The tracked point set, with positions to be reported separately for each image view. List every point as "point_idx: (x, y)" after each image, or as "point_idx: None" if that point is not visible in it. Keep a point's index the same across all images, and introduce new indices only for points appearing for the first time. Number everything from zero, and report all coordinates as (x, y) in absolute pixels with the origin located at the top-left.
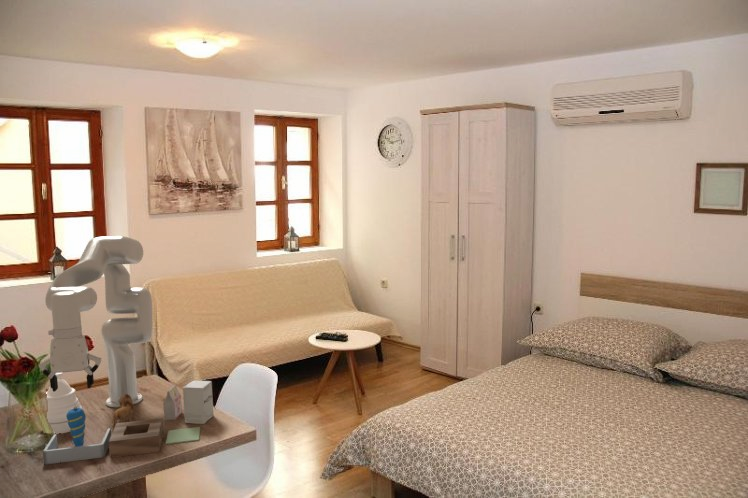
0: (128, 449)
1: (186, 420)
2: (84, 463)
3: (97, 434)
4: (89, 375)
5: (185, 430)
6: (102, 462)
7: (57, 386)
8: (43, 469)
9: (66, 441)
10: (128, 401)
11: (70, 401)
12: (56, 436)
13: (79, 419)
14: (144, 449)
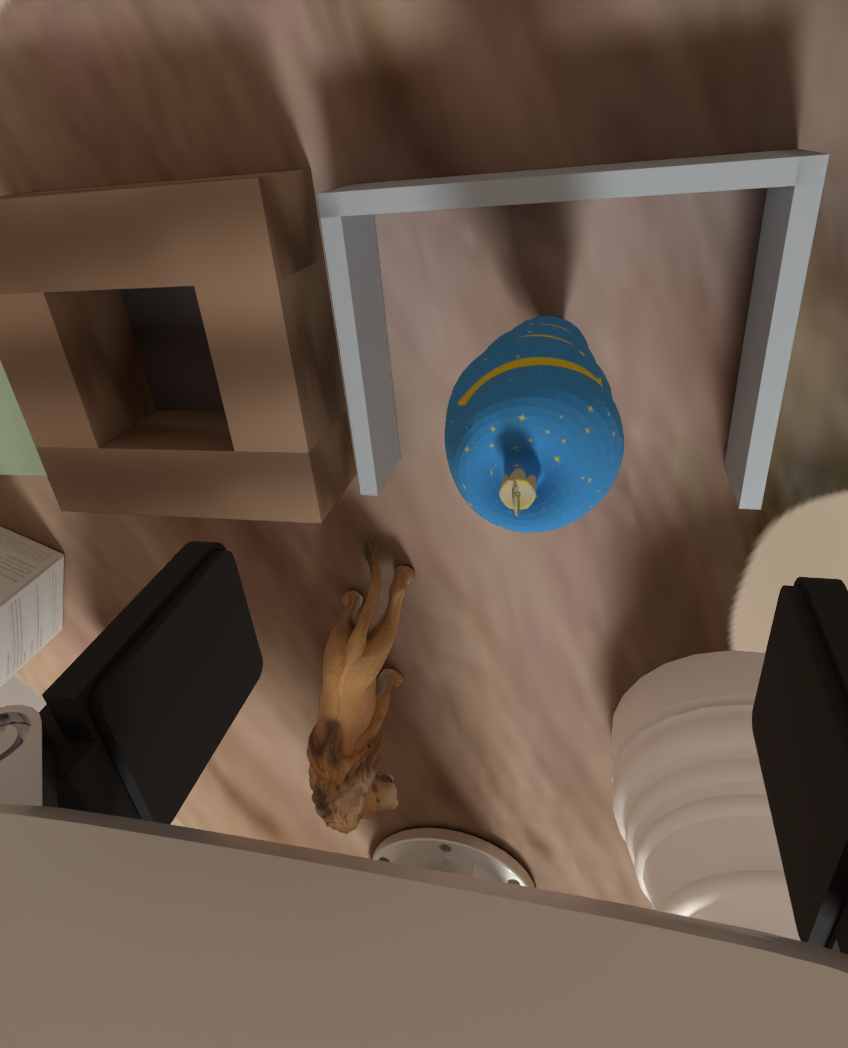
0: (172, 181)
1: (45, 557)
2: (470, 96)
3: (495, 565)
4: (71, 720)
5: (6, 449)
6: (338, 84)
7: (760, 731)
8: (794, 39)
9: (674, 526)
10: (314, 756)
11: (677, 844)
12: (737, 493)
13: (482, 370)
14: (88, 188)
